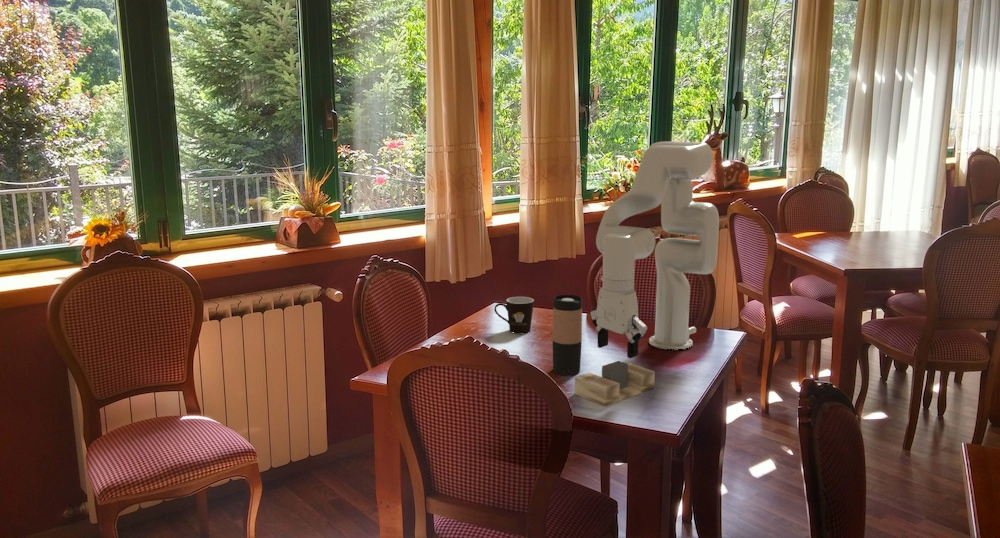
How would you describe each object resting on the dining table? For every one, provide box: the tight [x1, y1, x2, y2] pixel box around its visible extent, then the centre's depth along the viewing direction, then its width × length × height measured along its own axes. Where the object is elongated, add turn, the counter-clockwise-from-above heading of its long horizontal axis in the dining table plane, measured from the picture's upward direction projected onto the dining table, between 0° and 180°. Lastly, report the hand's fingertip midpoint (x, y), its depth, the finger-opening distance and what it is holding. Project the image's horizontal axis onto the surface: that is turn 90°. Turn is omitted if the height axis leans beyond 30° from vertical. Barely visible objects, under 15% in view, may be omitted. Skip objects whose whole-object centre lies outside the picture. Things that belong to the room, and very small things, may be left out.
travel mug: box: [552, 294, 583, 377], centre depth 199 cm, size 8×8×20 cm
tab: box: [601, 360, 628, 390], centre depth 186 cm, size 6×3×6 cm, turn 130°
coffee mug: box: [493, 296, 535, 334], centre depth 237 cm, size 12×9×10 cm
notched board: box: [574, 361, 656, 407], centre depth 186 cm, size 18×10×4 cm, turn 129°
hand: (617, 351), depth 185 cm, fingers open, 9 cm apart
